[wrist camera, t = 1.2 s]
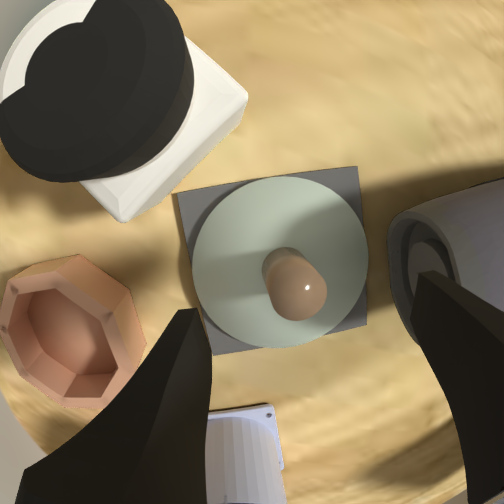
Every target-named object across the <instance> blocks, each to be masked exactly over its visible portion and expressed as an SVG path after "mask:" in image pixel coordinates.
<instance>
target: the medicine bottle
mask: <svg viewBox="0 0 504 504" xmlns="http://www.w3.org/2000/svg"><path fill="white" fill-rule="evenodd" d="M247 101H248V93H247V92H246V90H245V89H244V88H243V87H242V86H241V85H240V84H239V83H237V82H236V81H235V80H234V79H233V78H232V77H231V76H230V75H229V74H228V73H227V72H226V71H225V70H223V69H222V68H221V67H220V66H219V65H218V64H217V63H216V62H215V61H213V60H212V59H211V58H210V57H209V56H208V55H207V54H205V53H204V52H203V51H202V50H201V49H200V48H199V47H197V46H196V45H195V44H194V43H193V42H191V41H190V40H189V39H188V38H187V37H185V36H184V34H183V30H182V28H181V25H180V23H179V20H178V18H177V16H176V15H175V13H174V11H173V10H172V8H171V7H170V6H169V5H168V4H167V3H166V2H165V1H164V0H56V1H54V2H52V3H51V4H50V5H48V6H47V7H45V8H44V9H43V10H42V11H40V12H39V13H38V14H37V15H36V16H35V17H34V18H33V19H32V20H31V21H30V22H29V23H28V24H27V25H26V26H25V27H24V29H23V30H22V31H21V33H20V34H19V35H18V37H17V38H16V39H15V41H14V43H13V44H12V46H11V48H10V49H9V51H8V53H7V55H6V57H5V60H4V62H3V64H2V67H1V70H0V138H1V140H2V143H3V145H4V147H5V149H6V151H7V152H8V154H9V155H10V157H11V158H12V159H13V160H14V161H15V162H16V164H17V165H18V166H19V167H21V168H22V169H23V170H25V171H26V172H27V173H29V174H31V175H33V176H35V177H37V178H39V179H43V180H47V181H50V182H61V183H65V182H77V181H79V182H80V183H81V184H82V185H83V186H84V188H85V189H86V190H87V191H88V192H89V193H90V194H91V195H92V196H93V197H94V198H95V199H96V200H97V201H98V202H99V203H100V204H101V205H102V206H103V207H104V208H105V209H106V210H107V211H108V212H109V213H110V214H111V215H112V216H113V217H114V219H115V220H116V221H118V222H120V223H126V222H128V221H130V220H131V219H133V218H135V217H137V216H138V215H140V214H142V213H143V212H145V211H147V210H149V209H150V208H152V207H154V206H156V205H158V204H159V203H161V202H162V201H163V200H164V198H165V197H166V196H167V195H168V194H169V193H170V192H171V191H172V190H173V189H174V188H175V187H176V186H177V185H178V184H179V183H180V182H181V181H182V180H183V179H184V178H185V177H186V176H187V174H188V173H189V172H190V171H191V170H192V169H193V168H194V167H195V166H196V165H197V164H198V163H199V162H200V161H201V160H202V159H203V158H205V157H206V156H207V155H208V154H209V153H210V152H211V151H212V150H213V149H214V148H215V147H216V146H217V145H218V144H219V143H220V142H221V141H222V140H223V139H224V138H225V137H226V136H227V135H228V134H230V133H231V132H232V131H233V130H234V129H235V128H236V127H237V126H238V125H239V124H240V122H241V119H242V116H243V113H244V110H245V107H246V104H247Z"/></svg>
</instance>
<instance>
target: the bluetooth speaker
mask: <svg viewBox="0 0 504 504" xmlns="http://www.w3.org/2000/svg"><path fill="white" fill-rule="evenodd" d="M386 242H387V251H388V262H389V274H390V287H391V291H392V296H393V299H394V302H395V305H396V308H397V311H398V313H399V315H400V318H401V320H402V322H403V324H404V326H405V328H406V329H407V331H408V333H409V334H410V336H411V337H412V339H413V340H414V341H415V342H416V343H417V344H418V345H419V343H418V340H417V338H416V335H415V333H414V330H413V327H412V324H411V322H410V315H411V311H412V306H413V301H414V296H415V291H416V286H417V280H418V274H419V273H421V272H426V271H431V270H435V271H437V272H439V273H440V274H442V275H444V276H446V277H448V278H449V279H451V280H453V281H454V282H456V283H457V284H459V285H461V286H462V287H464V288H465V289H467V290H469V291H470V292H472V293H473V294H475V295H476V296H478V297H480V298H481V299H483V300H484V301H486V302H488V303H489V304H491V305H493V306H494V307H496V308H498V309H499V310H501V311H503V312H504V177H502V178H498V179H495V180H491V181H487V182H483V183H480V184H477V185H475V186H472V187H470V188H467V189H465V190H462V191H458V192H455V193H452V194H448V195H445V196H441V197H438V198H435V199H432V200H430V201H427V202H424V203H422V204H419V205H417V206H414V207H412V208H410V209H408V210H405V211H403V212H401V213H399V214H398V215H396V216H395V218H394V219H393V220H392V222H391V224H390V226H389V229H388V233H387V241H386ZM419 346H420V345H419Z"/></svg>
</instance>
